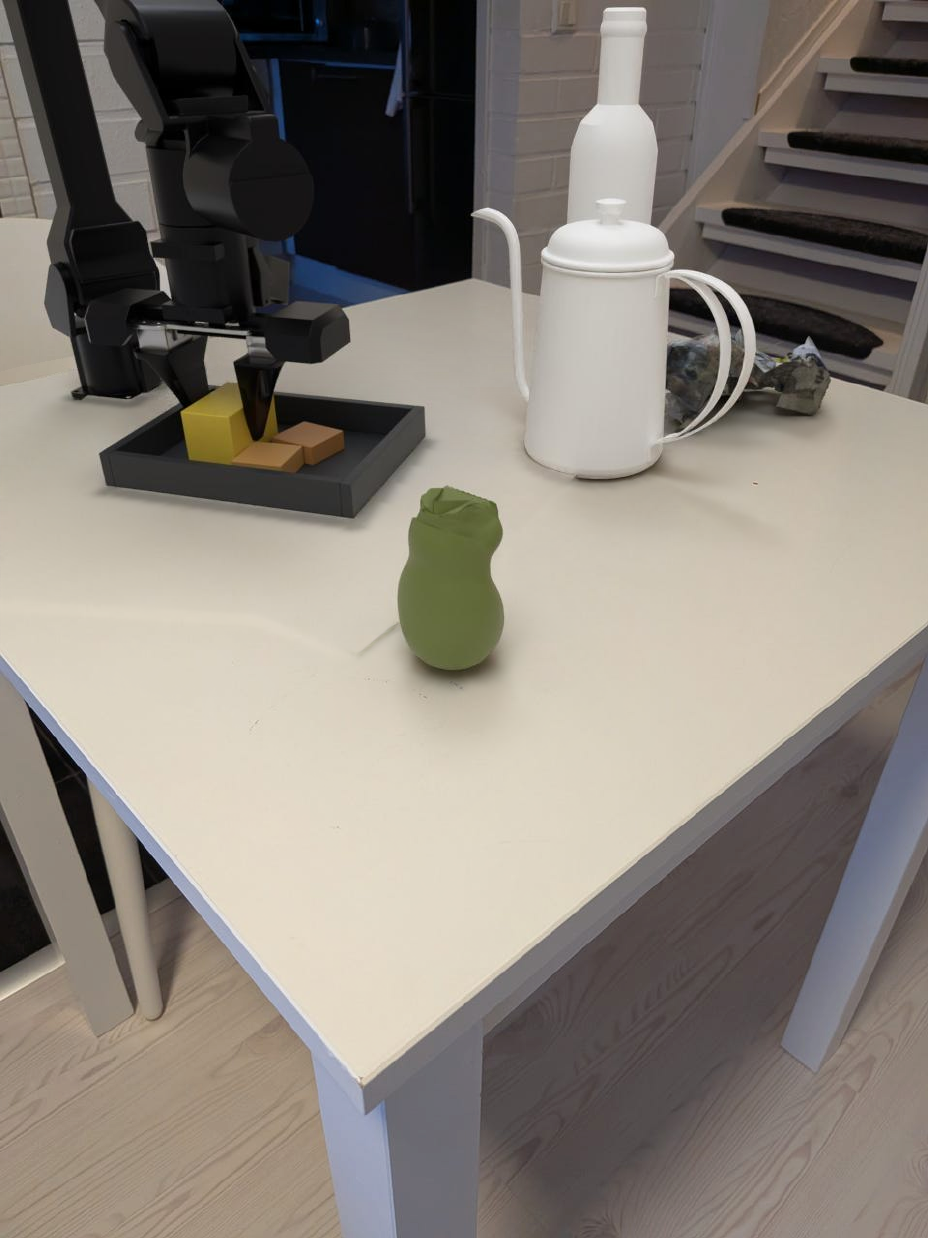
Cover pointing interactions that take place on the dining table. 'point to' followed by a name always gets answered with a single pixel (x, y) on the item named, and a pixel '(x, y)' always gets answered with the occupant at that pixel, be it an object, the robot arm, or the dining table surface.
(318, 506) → the pan
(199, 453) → the sponge
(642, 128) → the bottle
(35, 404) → the dining table surface
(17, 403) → the dining table surface
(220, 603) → the dining table surface
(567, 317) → the coffeepot
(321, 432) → the block
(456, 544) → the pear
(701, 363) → the foil
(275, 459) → the block
